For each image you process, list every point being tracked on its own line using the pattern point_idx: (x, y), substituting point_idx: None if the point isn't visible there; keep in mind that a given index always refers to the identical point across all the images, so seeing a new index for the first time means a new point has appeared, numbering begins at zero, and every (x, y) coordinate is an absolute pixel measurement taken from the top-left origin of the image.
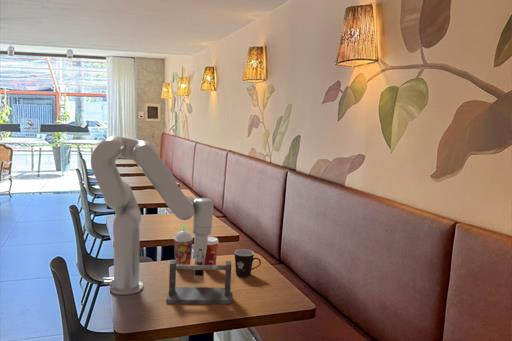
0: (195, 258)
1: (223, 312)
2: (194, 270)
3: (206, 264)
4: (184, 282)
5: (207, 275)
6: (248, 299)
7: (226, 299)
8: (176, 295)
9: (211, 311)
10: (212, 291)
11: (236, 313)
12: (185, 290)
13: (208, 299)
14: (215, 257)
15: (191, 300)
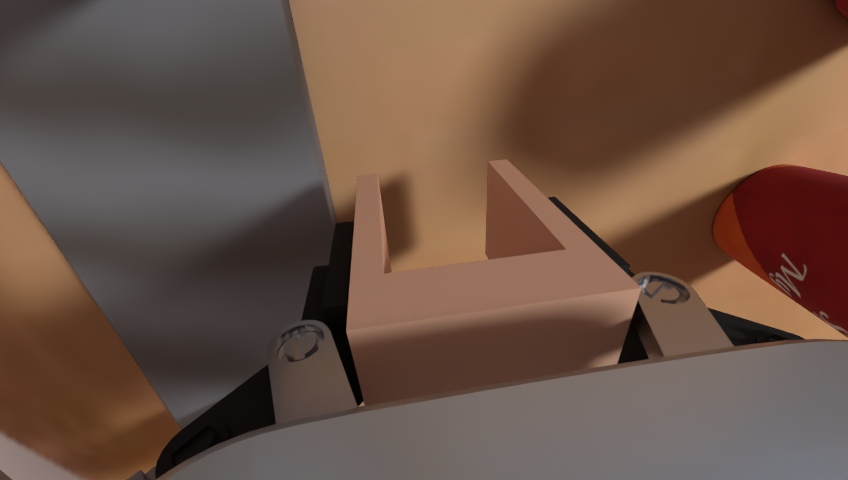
0: (589, 299)
1: (53, 392)
2: (356, 238)
3: (777, 222)
4: (504, 34)
5: (635, 218)
6: None
7: (179, 409)
8: (25, 5)
9: (17, 335)
10: (277, 321)
11: (84, 442)
12: (213, 97)
13: (116, 319)
14: (827, 322)
15: (30, 193)
